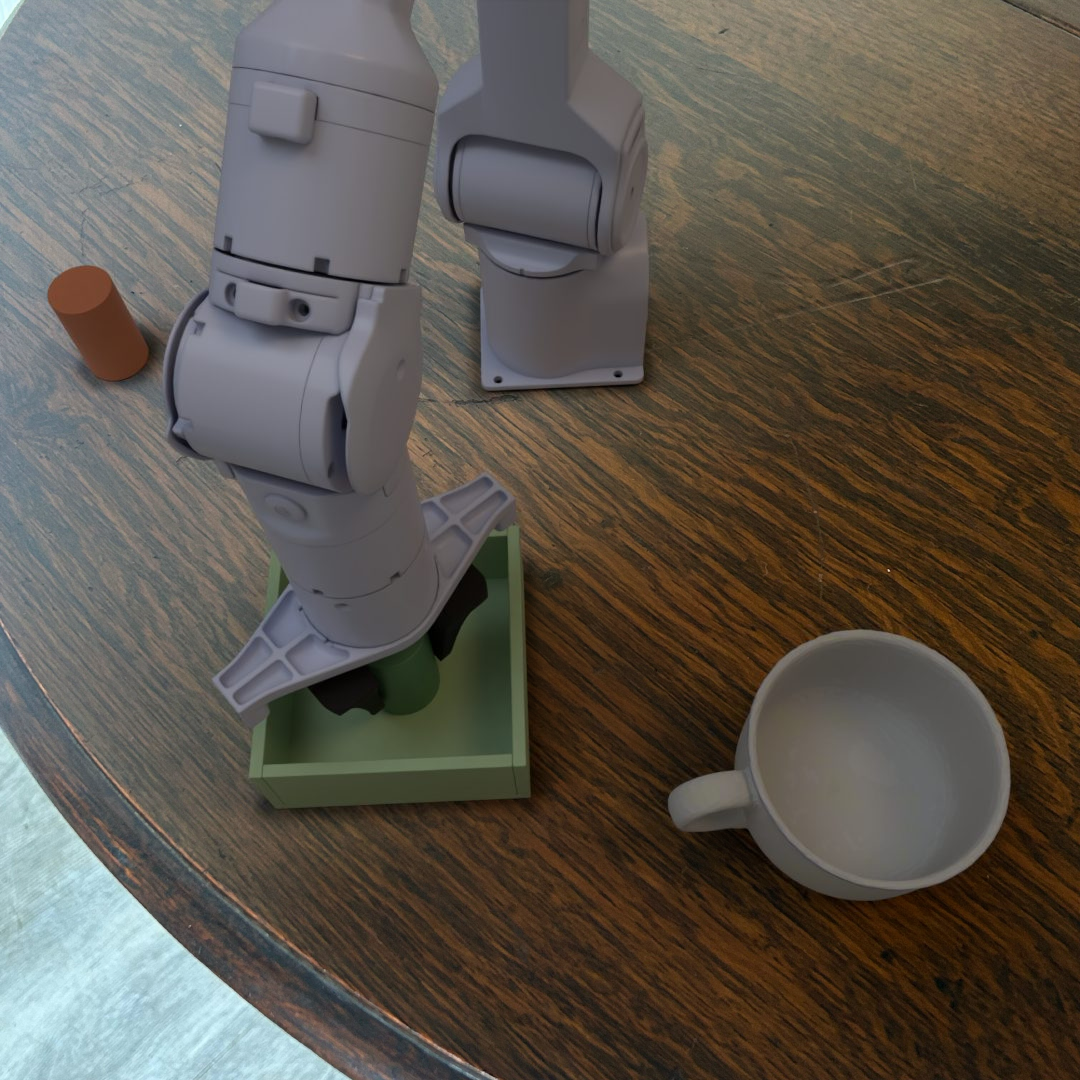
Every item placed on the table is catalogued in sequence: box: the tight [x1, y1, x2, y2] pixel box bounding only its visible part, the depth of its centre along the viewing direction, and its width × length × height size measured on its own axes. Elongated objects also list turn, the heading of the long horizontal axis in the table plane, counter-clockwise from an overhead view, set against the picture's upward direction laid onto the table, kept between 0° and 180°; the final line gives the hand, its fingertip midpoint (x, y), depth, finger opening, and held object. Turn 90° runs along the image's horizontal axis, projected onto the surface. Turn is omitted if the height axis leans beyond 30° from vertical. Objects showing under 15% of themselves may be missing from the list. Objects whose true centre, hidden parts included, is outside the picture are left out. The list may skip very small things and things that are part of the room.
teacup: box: [667, 628, 1012, 902], centre depth 47 cm, size 14×11×8 cm
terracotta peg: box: [46, 264, 150, 382], centre depth 63 cm, size 4×4×6 cm
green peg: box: [366, 631, 440, 715], centre depth 51 cm, size 4×4×6 cm
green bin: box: [248, 524, 532, 810], centre depth 52 cm, size 12×12×5 cm
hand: (400, 669), depth 53 cm, fingers closed on green peg, 3 cm apart
